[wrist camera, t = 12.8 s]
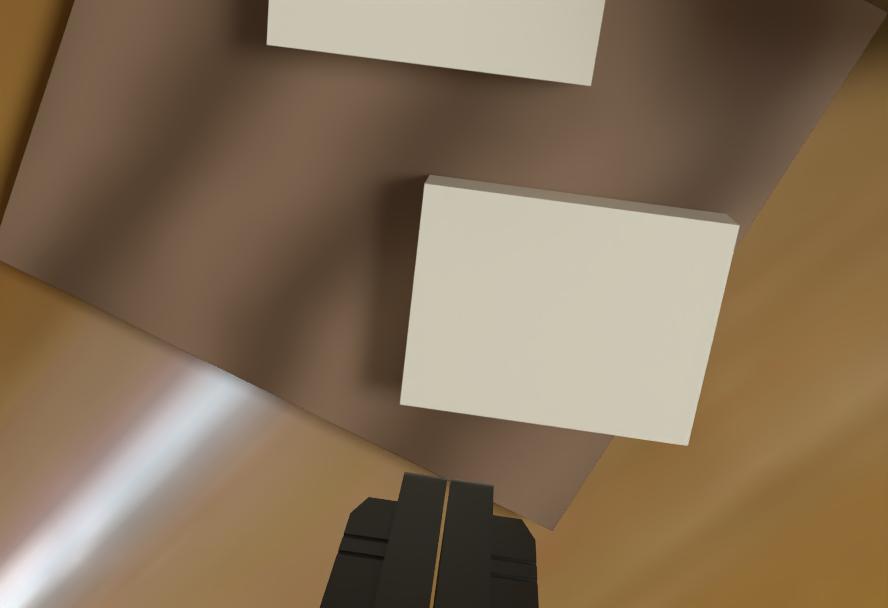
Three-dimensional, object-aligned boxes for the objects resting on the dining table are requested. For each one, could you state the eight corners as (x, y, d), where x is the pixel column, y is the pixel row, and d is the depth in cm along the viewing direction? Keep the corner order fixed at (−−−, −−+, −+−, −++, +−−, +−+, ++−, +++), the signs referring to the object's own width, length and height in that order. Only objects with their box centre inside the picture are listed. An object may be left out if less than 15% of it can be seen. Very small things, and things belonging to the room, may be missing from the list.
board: (11, 246, 29) (-10, 255, 28) (213, -353, 23) (197, -373, 22) (551, 512, 30) (552, 531, 29) (871, 14, 24) (888, 13, 23)
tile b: (399, 404, 26) (687, 445, 26) (424, 183, 24) (739, 225, 24) (406, 383, 28) (677, 422, 27) (429, 174, 26) (725, 213, 25)
